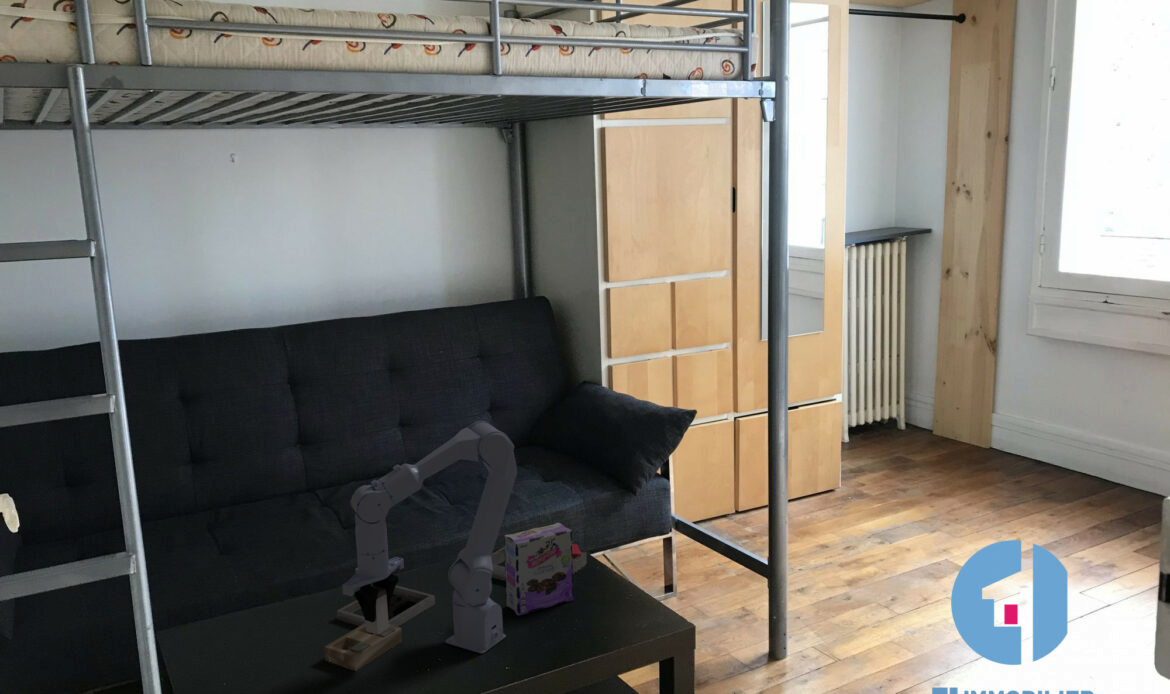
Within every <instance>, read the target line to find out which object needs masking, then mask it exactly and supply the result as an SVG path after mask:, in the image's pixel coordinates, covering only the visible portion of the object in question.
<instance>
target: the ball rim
mask: <svg viewBox="0 0 1170 694" xmlns="http://www.w3.org/2000/svg"><path fill="white" fill-rule="evenodd" d="M580 552H581V554H582V555H579V556H577V557H576V558H574V559H573V560H572V562H573V575H574V574H576V573H577V572H579V571H580V570H582V569H583V568H584V567H586V566H587V565H586V564H588V561H587V560H588V559H587V558H588V557H587V555H588V554H587V552H584V551H581V550H580ZM491 560H492V566H493V574H492V577H491V579H495V580H500V581H503V582H506V572H505V571H506V570H505V566H502V565H500V564H501V563H503V562H505V545H504V546H503V547H501V548H500V549H498V550H496V551H495V552H492V555H491ZM585 565H586V566H585ZM582 567H583V568H582ZM578 570H579V571H578ZM575 572H576V573H575Z"/></svg>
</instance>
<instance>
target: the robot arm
mask: <svg viewBox="0 0 1170 694" xmlns="http://www.w3.org/2000/svg"><path fill="white" fill-rule="evenodd" d="M514 450H515V445H514V443H513V442H512V440H511V439H510V438H509V436H508V435H507V434H506V433H505V432H503V431H500V430H499V429H498V428H496V427H494V426H493V425H492V424H491V423H489V422H488V421H484V420H478V421H476V422H473V423H471V424H470V425H469V426H468V427H465V428H462V429H461V430H459V432H458V433H456V434H455V436H454V437H452V438H450V439H449V440H448V441H446V442H445V443H443V444H442V445H441V446H439V447H437V448H436V449H434V450H433V451H432V452H430V453H429V454H428V455H426V456H424V457H423V458H422V459H420V460H419V461H418V462H416V463H414V464H409V463H403V464H401V465H399V464H395V465H394V466H393V467H392V471H390V472H388V473H387V474H385V475H384V476H382V477H380V478H379V479H373V480H372V481H370V484H365V485H361V486H359V487H358V488H357V489H355V490H354V492H353V493H352V496H351V500H349V504H350V506H351V508H352V510H353V511H354V512H355V513H354V518H355V519H354V521H355V528H354V529H355V531H354V532H355V544H356V545H355V546H356V555H357V556H356V557H357V567H356V568H355V573H354V574H353V576H352V577H350V579H349V580H347V581H346V582H345V583H343V584H342V595H345V596H347V597H353V596H354V598H355V600H357V601H358V603H359V605H360V607H361V609H360V610H361V612H362V614H363V615H362V616H363V617H364V618H365V620H367V621H370V622H374V621H375V619H376V601H377V596H378V593H379V590H378V589H374V588H373V586H377V587H381V588H385V589H386V594H387V609H388V611H389V607H390V602H391V598H392V597H393V595H392V594H393V591H394V589H395V586H396V585H398V583H399V576H398V575H396V574H393V572H395V571H397V570H402V569H404V568H405V565H404V564H405V563H404V558H402V557H398V556H395V557H392V558H389V547H388V533H387V532H388V530H387V524H386V516H388V515H389V514H388V513H389V511H390V509H391V508H393V507H395V506H396V505H397V504H399V503H401V502H402V501H404V500H405V499H407V498H409V497H410V496H412V495H414V494H415V493H416V492H418V491H420V490H421V489H422V487H423V486H422V485H423V482H424V481H425V480H426V479H427V478H429V477H431V476H433V475H435V474H436V473H438V472H440V471H442V470H443V469H445V468H447V467H448V466H450V465H453V464H455V463H456V462H458V461H460V460H462V461H463V460H464V461H472V462H479V459H481V462H482V463H483V465H484V467H485V468H486V469H487V471H488V475H487V477H486V482H485V484H484V489H483V492H482V494H481V497H480V501H479V503H478V507H477V511H476V514H475V517H474V520H473V523H472V526H471V530H470V533H469V536H468V538H467V542H466V546H465V547H464V548H462V549H461V550H460V551H458V552H459V553H458V555H457V556H456V557H457V558H456V559H455V561H454V562H453V563H452V565H451V566H450V567H449V569H448V572H447V579H448V582H449V584H450V585H451V586H452V587H454V588H453V590H454V591H453V594H452V597H451V598H452V600H451V601H452V616H453V633H454V634H453V635H451V636H450V637H448V638H447V639H446V640H445V643H446V644H447V645H452V646H454V647H458V648H462V649H464V650H469V651H471V652H475V653H477V654H478V653H479V654H482V655H483V654H484V653H486V652H487V651H489V650H490V649H492V648H493V647H494V646H495V645H497V644H499V643H500V642H501V641H502V640H504V639H505V638H506V637H507V636H506V634H505V633H504V625H503V624H504V622H503V609H502V606H501V605H500V604H499V603H496V602H495V601H494V600H492V599H491V598H490V596H491V594H492V591H493V584H492V578H491V577H492V574H493V566H492V560H491V555H492V554H493V553H494V552H493V551H494V549H495V544H496V541H497V539H498V536H499V533H500V529H501V525H502V523H503V520H504V517H505V512H506V509H507V507H508V503H509V500H510V497H511V494H512V491H513V488H514V484H515V482H516V478H517V475H518V474H517V473H518V467H517V462H516V457H515V453H514Z"/></svg>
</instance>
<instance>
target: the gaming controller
mask: <svg viewBox="0 0 1170 694" xmlns="http://www.w3.org/2000/svg"><path fill="white" fill-rule="evenodd" d="M417 603H419V601H417V600H416V599H413V598H409V597H403V596H396V595H393V596H392V597H391V602H390V607H389V611H388V620H390V619H392V618H394V617H395V616H394V612H395V611H397V610H399V609H401V608H404V609H406V610H407V609H409V608H410V607H412V606H414V605H415V604H417Z"/></svg>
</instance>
